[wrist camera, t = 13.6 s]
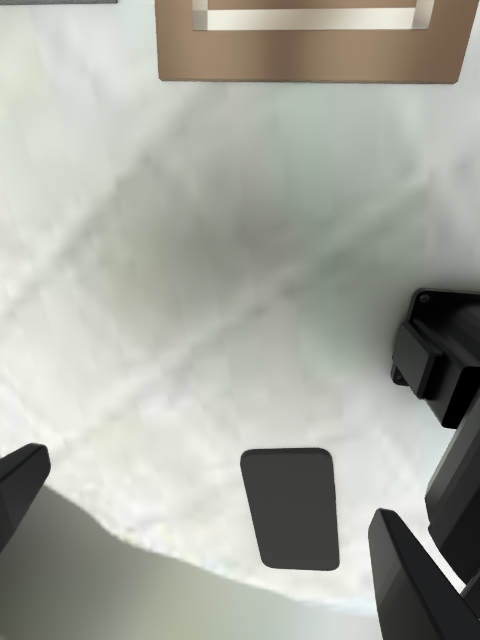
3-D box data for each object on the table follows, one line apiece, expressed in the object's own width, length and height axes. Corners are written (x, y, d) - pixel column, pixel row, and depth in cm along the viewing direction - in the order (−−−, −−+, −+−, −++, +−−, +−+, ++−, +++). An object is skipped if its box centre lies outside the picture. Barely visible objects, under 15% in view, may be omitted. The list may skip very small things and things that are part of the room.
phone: (262, 568, 30) (236, 454, 25) (263, 558, 31) (238, 446, 25) (340, 572, 29) (332, 452, 23) (339, 561, 30) (331, 444, 24)
